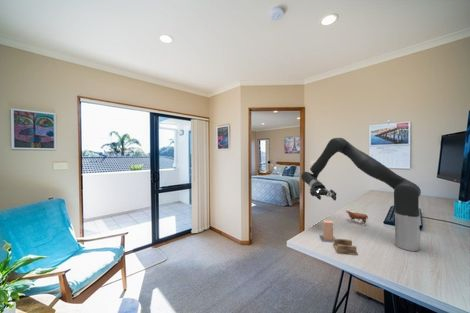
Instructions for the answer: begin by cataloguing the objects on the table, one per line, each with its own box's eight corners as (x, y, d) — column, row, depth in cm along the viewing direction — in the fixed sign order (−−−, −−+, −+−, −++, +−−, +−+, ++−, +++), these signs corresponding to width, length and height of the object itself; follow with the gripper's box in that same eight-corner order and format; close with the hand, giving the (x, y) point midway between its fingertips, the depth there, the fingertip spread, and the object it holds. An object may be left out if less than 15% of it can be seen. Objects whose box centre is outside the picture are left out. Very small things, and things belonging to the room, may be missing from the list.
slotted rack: (351, 247, 97) (351, 239, 97) (357, 256, 90) (357, 247, 89) (332, 245, 100) (332, 238, 99) (337, 254, 92) (337, 245, 92)
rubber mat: (333, 236, 109) (333, 236, 109) (337, 243, 101) (337, 243, 101) (319, 235, 111) (319, 235, 111) (321, 242, 103) (321, 241, 103)
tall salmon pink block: (331, 237, 107) (331, 220, 107) (333, 240, 104) (333, 223, 104) (323, 237, 109) (322, 220, 108) (324, 240, 105) (324, 222, 105)
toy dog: (346, 219, 135) (346, 208, 134) (368, 224, 124) (368, 212, 124) (343, 220, 132) (343, 209, 132) (366, 226, 121) (366, 214, 121)
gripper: (306, 180, 122) (316, 192, 107) (329, 182, 122) (341, 193, 106) (305, 191, 124) (314, 203, 109) (327, 192, 124) (339, 205, 108)
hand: (327, 198), depth 108 cm, fingers open, 8 cm apart
